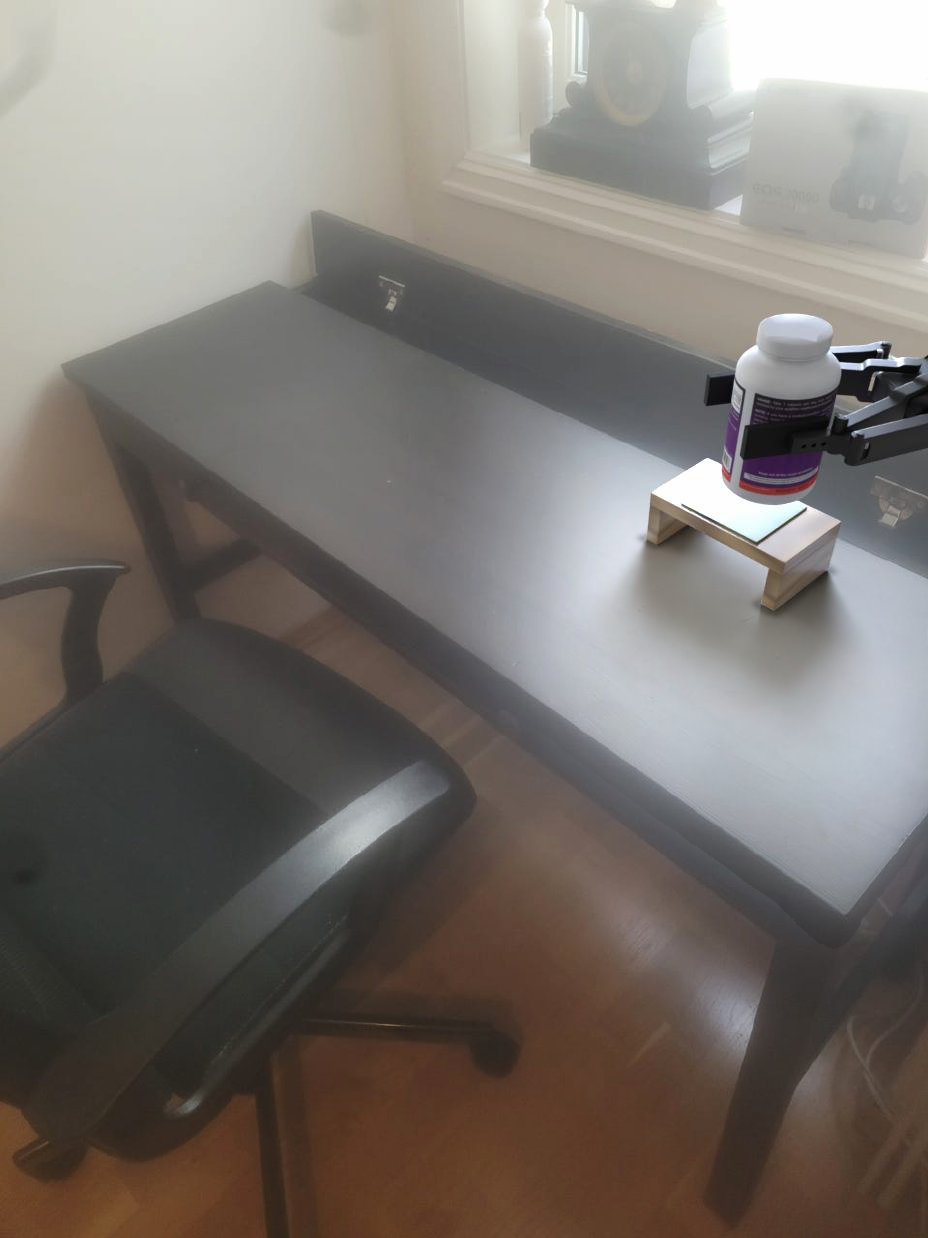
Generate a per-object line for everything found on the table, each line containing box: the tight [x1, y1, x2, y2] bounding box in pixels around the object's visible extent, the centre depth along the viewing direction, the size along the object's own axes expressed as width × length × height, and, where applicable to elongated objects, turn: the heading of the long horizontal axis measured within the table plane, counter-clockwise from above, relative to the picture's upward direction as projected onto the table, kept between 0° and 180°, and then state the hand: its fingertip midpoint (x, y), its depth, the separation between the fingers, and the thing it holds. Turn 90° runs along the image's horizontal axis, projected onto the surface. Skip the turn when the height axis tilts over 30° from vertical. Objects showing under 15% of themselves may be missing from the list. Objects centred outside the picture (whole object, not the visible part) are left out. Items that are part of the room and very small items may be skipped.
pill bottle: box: [721, 313, 841, 505], centre depth 72 cm, size 8×8×14 cm
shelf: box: [646, 457, 842, 612], centre depth 87 cm, size 16×9×6 cm, turn 40°
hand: (724, 415), depth 71 cm, fingers closed on pill bottle, 8 cm apart
